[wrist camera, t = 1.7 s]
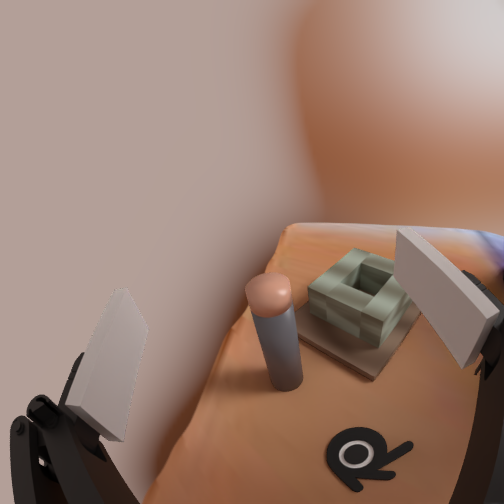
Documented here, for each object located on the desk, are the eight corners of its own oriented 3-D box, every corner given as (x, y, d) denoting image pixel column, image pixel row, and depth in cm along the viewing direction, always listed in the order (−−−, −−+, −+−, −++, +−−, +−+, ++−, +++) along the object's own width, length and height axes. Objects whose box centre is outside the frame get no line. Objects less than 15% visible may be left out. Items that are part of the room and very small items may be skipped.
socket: (356, 262, 49) (356, 234, 46) (433, 291, 38) (439, 260, 35) (282, 327, 40) (276, 296, 37) (373, 381, 28) (380, 351, 25)
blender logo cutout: (414, 432, 21) (415, 430, 20) (401, 495, 15) (403, 494, 15) (335, 425, 25) (335, 423, 25) (313, 486, 19) (313, 485, 19)
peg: (287, 360, 34) (268, 267, 27) (309, 376, 31) (299, 282, 24) (264, 379, 32) (236, 289, 25) (286, 397, 29) (265, 307, 22)
